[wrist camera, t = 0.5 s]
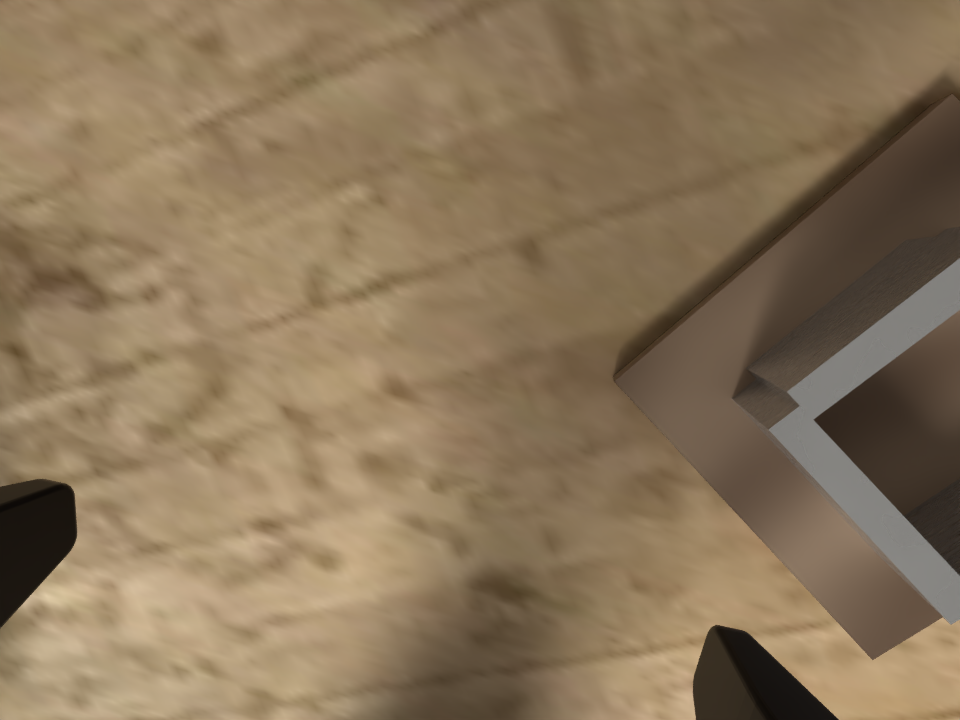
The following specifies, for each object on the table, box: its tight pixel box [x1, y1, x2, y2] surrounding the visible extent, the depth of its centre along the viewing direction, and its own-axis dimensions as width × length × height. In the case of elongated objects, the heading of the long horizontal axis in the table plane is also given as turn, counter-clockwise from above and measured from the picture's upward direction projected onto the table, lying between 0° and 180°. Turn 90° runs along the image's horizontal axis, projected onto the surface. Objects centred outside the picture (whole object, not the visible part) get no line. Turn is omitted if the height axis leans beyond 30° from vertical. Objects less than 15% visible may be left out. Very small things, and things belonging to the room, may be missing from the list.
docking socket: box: [613, 94, 960, 660], centre depth 16 cm, size 13×13×5 cm
